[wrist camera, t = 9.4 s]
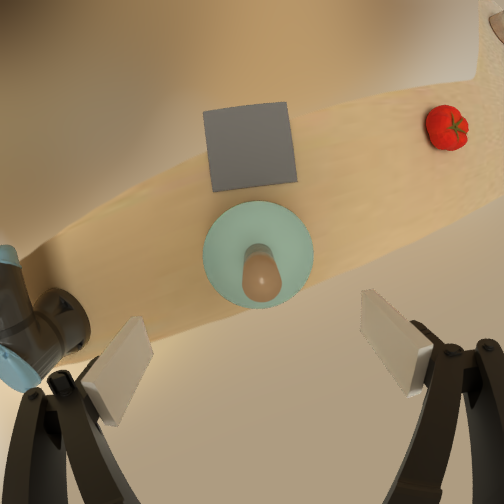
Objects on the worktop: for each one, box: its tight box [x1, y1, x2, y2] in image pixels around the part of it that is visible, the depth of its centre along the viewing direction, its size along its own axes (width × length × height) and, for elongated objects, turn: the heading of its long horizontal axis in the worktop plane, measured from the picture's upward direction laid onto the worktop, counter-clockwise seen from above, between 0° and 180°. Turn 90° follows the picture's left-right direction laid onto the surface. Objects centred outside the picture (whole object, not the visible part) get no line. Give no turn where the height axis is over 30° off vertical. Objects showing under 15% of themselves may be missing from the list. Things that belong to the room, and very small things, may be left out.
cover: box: [203, 201, 313, 309], centre depth 29 cm, size 13×13×10 cm
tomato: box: [426, 105, 469, 151], centre depth 39 cm, size 9×9×8 cm
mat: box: [203, 102, 297, 192], centre depth 44 cm, size 14×14×1 cm
